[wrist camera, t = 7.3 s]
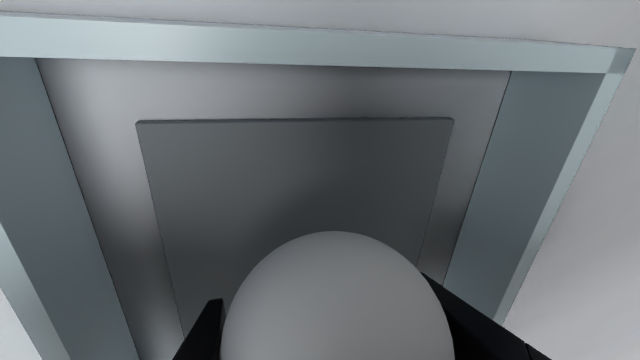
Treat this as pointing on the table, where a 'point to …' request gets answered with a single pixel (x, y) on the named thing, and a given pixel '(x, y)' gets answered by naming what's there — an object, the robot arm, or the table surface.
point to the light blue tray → (294, 49)
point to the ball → (335, 305)
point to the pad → (283, 191)
